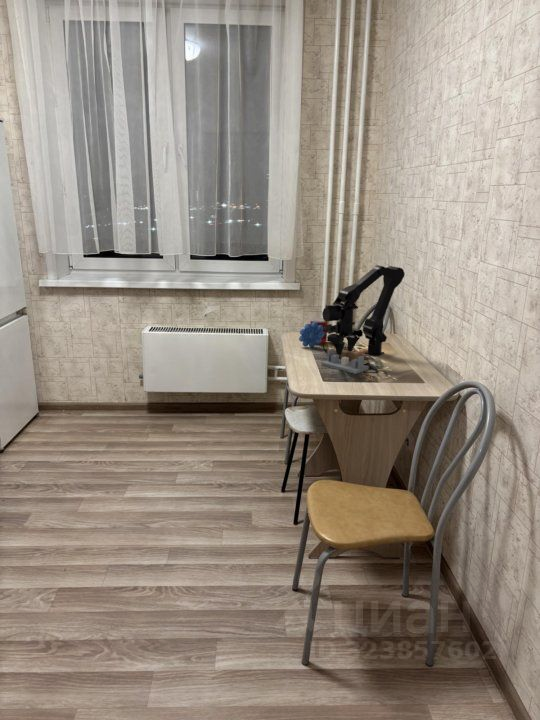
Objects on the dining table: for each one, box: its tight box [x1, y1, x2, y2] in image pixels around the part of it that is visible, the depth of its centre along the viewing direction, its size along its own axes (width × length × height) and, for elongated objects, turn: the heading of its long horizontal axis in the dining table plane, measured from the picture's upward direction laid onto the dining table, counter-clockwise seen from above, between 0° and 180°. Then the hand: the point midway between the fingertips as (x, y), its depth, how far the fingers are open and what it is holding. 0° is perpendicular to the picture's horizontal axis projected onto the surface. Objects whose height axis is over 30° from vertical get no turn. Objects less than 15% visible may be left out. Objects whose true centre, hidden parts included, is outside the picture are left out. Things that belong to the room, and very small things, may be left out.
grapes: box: [298, 322, 325, 348], centre depth 246 cm, size 12×7×12 cm, turn 83°
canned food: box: [309, 317, 328, 345], centre depth 254 cm, size 8×8×11 cm
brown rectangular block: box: [331, 347, 361, 361], centre depth 231 cm, size 13×4×3 cm, turn 48°
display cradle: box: [321, 348, 370, 375], centre depth 217 cm, size 9×17×6 cm, turn 48°
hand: (344, 354), depth 231 cm, fingers open, 7 cm apart
